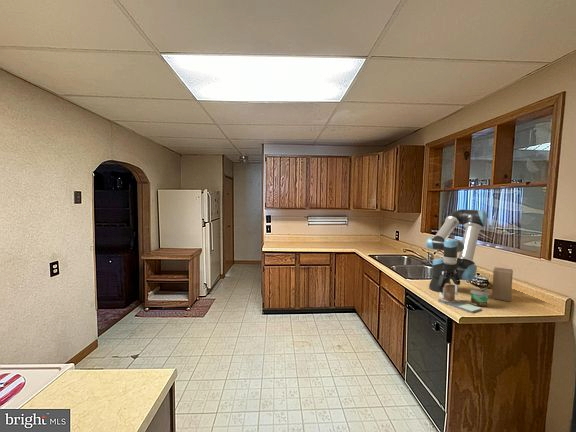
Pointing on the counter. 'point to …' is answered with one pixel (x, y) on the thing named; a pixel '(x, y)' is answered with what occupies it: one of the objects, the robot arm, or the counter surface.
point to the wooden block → (502, 284)
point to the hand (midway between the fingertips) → (448, 295)
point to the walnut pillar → (449, 292)
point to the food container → (479, 297)
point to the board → (461, 305)
